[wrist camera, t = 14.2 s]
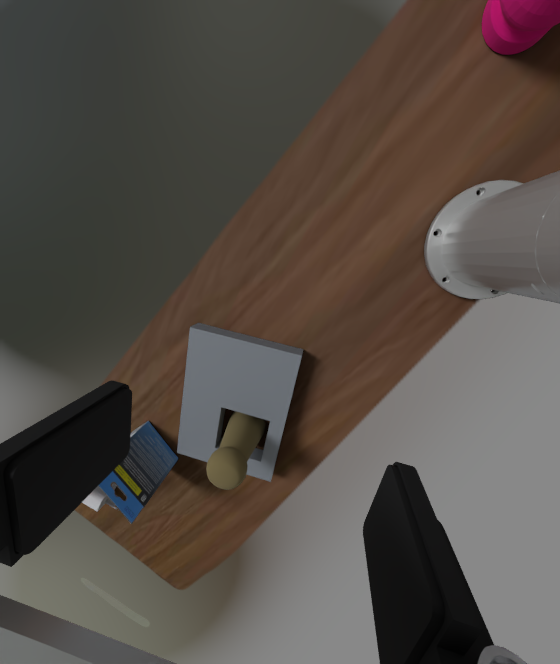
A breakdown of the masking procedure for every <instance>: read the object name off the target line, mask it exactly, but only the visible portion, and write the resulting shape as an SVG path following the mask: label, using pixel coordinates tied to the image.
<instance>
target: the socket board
mask: <svg viewBox="0 0 560 664" xmlns="http://www.w3.org/2000/svg"><path fill="white" fill-rule="evenodd" d="M302 353H303V349H300V348H296V347H292V346H288V345H284V344H280V343H276V342H272V341H268V340H264V339H260V338H256V337H252V336H248V335H244V334H240V333H236V332H232V331H228V330H225V329H221V328H217V327H213V326H209V325H205V324H201V323H197V324H195V325H193V326H191V327H190V333H189V343H188V352H187V361H186V371H185V380H184V390H183V399H182V409H181V418H180V428H179V437H178V447H177V453H179V454H182V455H186V456H189V457H192V458H195V459H199V460H202V461H205V462H208V460H209V458H210V457H211V455H212V453H213V452H215V451H216V450H217V449H218V448H219V447H220V444H221V441H222V439H223V438H221V434H222V427H223V421H224V415H225V409H229V410H233V411H236V412H240V413H244V414H247V415H251V416H254V417H258V418H261V419H265V420H268V421H270V424H269V428H268V433H267V437H266V442H265V446H264V450H261V449H257V448H255V449H254V451H253V453H252V454H251V456H250V458H249V459H248V461H247V465H248V467H247V473H246V474H247V475H251V476H254V477H257V478H260V479H264V480H267V481H270V482H271V478H272V474H273V470H274V466H275V462H276V458H277V454H278V450H279V446H280V442H281V438H282V434H283V430H284V426H285V422H286V418H287V414H288V410H289V406H290V402H291V398H292V394H293V390H294V386H295V382H296V378H297V374H298V370H299V366H300V362H301V358H302Z"/></svg>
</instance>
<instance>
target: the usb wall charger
mask: <svg viewBox="0 0 560 664" xmlns="http://www.w3.org/2000/svg"><path fill="white" fill-rule="evenodd" d="M112 488H113V489H114V490H115V488H116V485H115V484H112ZM116 496H117V495H116ZM82 503H84V504H85V505H87V506H89V507H90V508H92V509H94V510H95V511H99V509H100V508H101V507H102V506H103V505H104V504H105V503H106V504H108V505H109V506H111V507H113V508H115V505H114V504H113V502H112V501H111V500H109V498H108V497H107V495H106V494H105V493H104V492H103V491H102V490H101V488H100V487H99V486H97V487H96V488H95V489H94V490H93V491H92V492H91V493H90V494H89V495H88V496H87V498H86V499H85V500H84V501H83V502H82ZM115 509H117V507H116V508H115Z"/></svg>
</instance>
